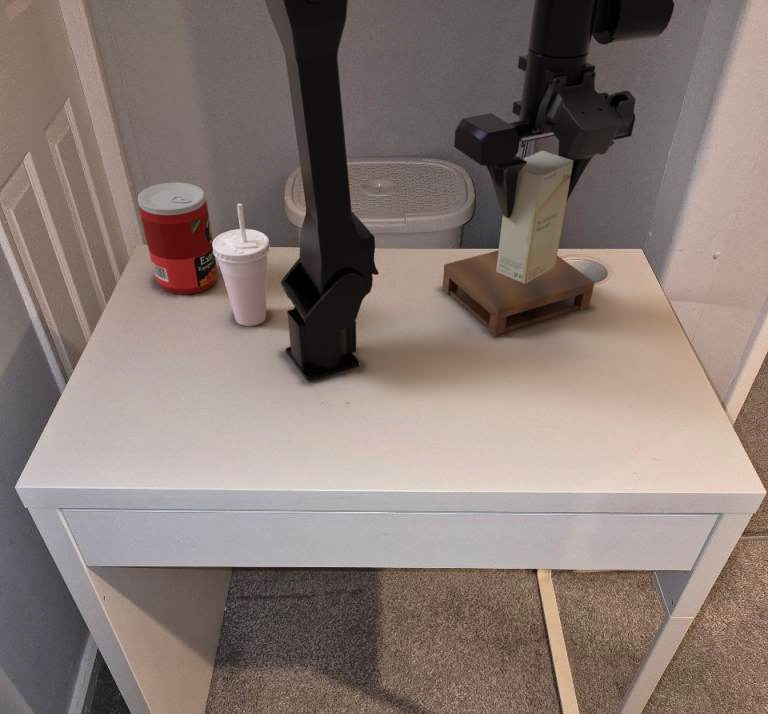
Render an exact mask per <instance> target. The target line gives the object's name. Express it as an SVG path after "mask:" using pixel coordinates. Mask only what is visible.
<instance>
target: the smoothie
mask: <svg viewBox="0 0 768 714" xmlns="http://www.w3.org/2000/svg"><path fill="white" fill-rule="evenodd" d="M236 208H237V217H238V223H239V228H237V229H231V230H227V231H225V232H222V233H220V234H218V235H217V236H216V237H215V238H214V239H213V243H212V246H213V254H214V256H215V258H216V259H217V261H218V265H219V269H220V271H221V274H222V279H223V282H224V285H225V288H226V292H227V296H228V298H229V303H230V306H231V309H232V312H233V313H232V314H233V317H234V319H235V321H236V323H237V324H239V325H242V326H246V327H253V326H258V325H261V324H262V323H264V322H265V321H266V319H267V293H268V292H267V289H268V254H269V252H270V251H271V245H270V240H269V237H268V236H267V235H266V234H265V233H264V232H262V231H259V230H255V229H251V228H246V224H245V216H244V208H243V204H242V203H237V204H236Z"/></svg>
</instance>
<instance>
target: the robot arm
mask: <svg viewBox="0 0 768 714" xmlns="http://www.w3.org/2000/svg"><path fill="white" fill-rule="evenodd" d="M264 2H265V6H266V8H267V12H268V14H269V16H270V19H271V21H272V24H273V26H274V29H275V31H276V34H277V36H278V38H279V42H280V44H281V46H282V49H283V54H284V57H285V64H286V65H285V66H286V71H287V72H286V73H287V78H288V86H289V92H290V93H289V94H290V102H291V108H292V115H293V122H294V123H293V124H294V130H295V137H296V144H297V151H298V159H299V166H300V173H301V180H302V188H303V195H304V203H305V215H304V218H303V221H302V225H301V228H300V233H299V258H297V260H296V261H295V263H294V264H293V265H292V266H291V268H290V269H289V270H288V271H287V273H286V274H285V275H284V276H283V278H281V280H280V285H281V287H282V289H283V292H284V293H285V295H286V297H287V298H288V300H290V301H291V303H292V304H293V308H292V309H288V310H287V322H288V333H289V334H288V335H289V345H290V346H288V347H286V348H285V354H286V356H287V357H288V358H289V359H290V361H291V362H292V363H293V365H294V366H295V367H296V369H297V370H298V371H299V373H300V374H301V375H302V376H303V378H304V379H305V380H306V381H308V382H312V381H316V380H320V379H322V378H326V377H329V376H332V375H336V374H339V373H342V372H346V371H349V370H352V369H355V368H358V367H360V365H361V364H360V360H359V359H358V358H357V356H356V355H355V353H357V351H358V349H357V321H356V320H357V316H358V315H359V311H360V309H361V306H362V303H363V300H364V299H365V298H366V296H367V295H369V294H370V293H371V291H372V289H373V283H374V282H373V281H374V276H373V275H375V276H378V275H379V270H378V268H377V267H376V262H375V252H376V239H375V235H374V234H373V233H372V232H371V230H370V229H369V228H368V227H367V226H366V225H365V224H364V223H363V222H362V221H361V219H360V218H359V216H357V215H356V214H355V213H354V212H353V211H352V199H351V191H350V190H351V189H350V178H349V169H348V168H349V167H348V158H347V157H348V156H347V146H346V145H347V144H346V135H345V124H344V113H343V104H342V92H341V91H342V89H341V80H340V70H339V49H340V45H341V41H342V38H343V35H344V30H345V28H346V27H345V26H346V22H347V18H348V4H349V0H264ZM674 10H675V1H674V0H534V1H533V9H532V15H531V22H530V23H531V24H530V25H531V26H530V32H529V38H528V48H527V54H525V55H519V56H518V63H517V69H519V70H521V71H523V72H524V79H523V87H522V94H521V100H515V101H513V102H512V103H513V104H512V114H514V115H516V116H517V117H519V119H518V121H513V122H507V121H506V120H504V119H502V118H501V117H499V116H497V115H496V114H494V113H492V112H490V113H483V114H478V115H473V116H468V117H463V118H461V120H460V121H459V122H458V123H457V125H456V127H455V130H454V143H453V148H455V149H456V150H458V151H459V152H461V153H462V154H464V155H465V156H466V157H468V158H469V159H471V160H472V161H474V162H476V163H477V164H478V165H480V166H483V167H486V169H487V171H488V173H489V176H490V179H491V182H492V185H493V189H494V192H495V195H496V199H497V202H498V205H499V207H500V211H501V214H502V217H503V216H505V217H506V218H510V217H511V214H512V210H513V206H514V200H515V192H516V185H517V178H518V173H519V171H520V170H521V169H522V168H523V167H524V166H525V165H526V164H527V161H525V160H524V159H523V158H522V157H521V156H520V149H521V144H522V143H526V142H530V141H535V140H540V139H545V138H550V137H556V139H557V140H558V149H557V150H558V151H557V153H558V154H557V155H558V156H561V157H564V158H567V159H571V160H573V167H572V172H571V178H570V183H569V190H568V195H567V201H566V203H567V202H568V200H569V198H570V197H571V195H572V194H573V192H574V190H575V188H576V186H577V184H578V182H579V180H580V179H581V177H582V175H583V173H584V172H585V170H586V168H587V167H588V165H589V164H590V162H591V160H592V159H593V158H594V157H595V156H596V155H605V154H607V153H608V152H609V149H610V148H611V147H613V145H614V144H615V141H616V140H620V139H621V140H622V139H624V138H625V139H626V138H630V137H632V134H633V130H634V127H635V126H634V125H635V123H636V122H635V121H636V118H637V117H636V114H635V106H636V98H635V97H634V95H633V94H632V93H631V92H630V90H624V91H617V92H613V93H612V94H609V93H607V92H597V90H596V89H595V87H596V86H595V81H596V75H597V73H596V71H595V70H596V65H594V64H591V63H589V62H588V60H589V53H590V48H591V42H592V37H593V39H594V40H595V41H596V42H597V43H598V44H599V45H613V44H622V43H628V42H637V41H644V40H653V39H656V38H658V37H659V36H661V35H662V34H663V33H664V31H666V29H667V27H668V25H669V24H670V22H671V19H672V17H673V13H674Z"/></svg>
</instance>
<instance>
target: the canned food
mask: <svg viewBox="0 0 768 714" xmlns="http://www.w3.org/2000/svg"><path fill="white" fill-rule="evenodd" d="M137 202H138V203H137V204H138V210H139V215H140V219H141V223H142V228H143V232H144V236H145V241H146V244H147V245H146V246H147V249H148V253H149V257H150V261H151V265H152V266H151V267H152V271H153V275H154V278H155V280H156V282H157V284H158V286H159V288H161V289H162V290H164V291H166V292H169V293H171V294H176V295H190V294H197V293H200V292H203V291H206V290H208V289H209V288H211V287H212V286H214V285H215V283H216V282H217V278H218V273H219V272H218V267H217V265H218V264H217V260H216V259H217V258H216V257H215V256H214V254H213V246H212V243H213V240H214V239H213V234H212V227H211V221H210V214H209V209H208V203H207V197H206V194H205V191H204V190H203V189H202V188H201V187H199V186H197V185H195V184H192V183H188V182H187V183H186V182H164V183H158V184H155V185H152V186H149V187H147V188H145V189H143V190H142V191H140V193H139V194H138V196H137Z"/></svg>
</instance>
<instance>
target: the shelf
mask: <svg viewBox="0 0 768 714" xmlns="http://www.w3.org/2000/svg"><path fill="white" fill-rule="evenodd" d="M498 252H499V249H498V250H494V251H491V252H487V253H482V254H479V255H475V256H471V257H468V258H463V259H460V260H455V261H452V262H449V263H444V264H443V274H442V275H443V277H442V291H443V292H444V293H445V294H447V296H450V297H452V298H453V299H454V300H455V301H456V302H457V303H458V304H460V306H462V307H463V308H464V309H465V310H466V311H467V312H468V313H469V314H471V315H472V316H473V317H474V318H475V319H477V321H478V322H480V323H481V324H482V325H483V326H484V327H485V328H486V329H488V332H489V333H490V334H491V335H492V336H494V337H498V336H501V335H504V334H505V333H508V332H511V331H513V330H514V331H515V330H517V329H520V328H525V327H528V326H530V325H533V324H537V323H540V322H543V321H547V320H550V319H553V318H556V317H560V316H563V315H567V314H569V313H572V312H576V311H582V310H586V309H589V308H590V305H591V300H592V297H593V290H594V287H595V284H596V283H595V281H594V280H592V279H591V278H590V277H588V276H587V275H585V273H583V272H581V271H580V270H578V269H577V268H576V267H574V266H572V265H571V264H570V263H568V262H567V261H566V260H564V259H563V258H562V257H560V256H559V255H557V258H556V264H555V267H553V268H552V269H550V270H549V271H547V272H545V273H543V274H542V275H540V276H538V277H537V278H535V279H533V280H531V281H530V282H528V283H526V284H524V283H522V282H519V281H516V280H514V279H512V278H509V277H507V276H505V275H502V274H500V273H498V272H496V268H497V260H498Z"/></svg>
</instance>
